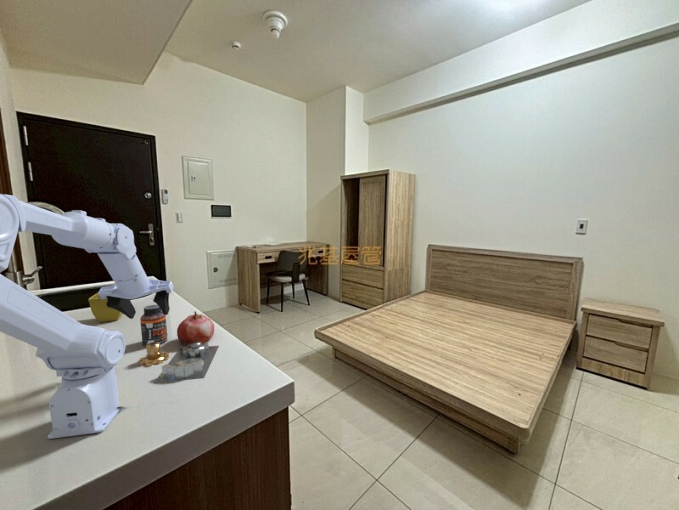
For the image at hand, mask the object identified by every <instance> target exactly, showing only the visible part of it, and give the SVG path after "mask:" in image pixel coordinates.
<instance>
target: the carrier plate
mask: <svg viewBox="0 0 679 510" xmlns="http://www.w3.org/2000/svg"><path fill="white" fill-rule="evenodd" d="M219 347H220V345H211V346H210V345H209V352H206V353H205V355H203V356H196V357H195V358H190V357H187V358H185V357H184V355H183V348H179V349H178V350H177V351H176V353H175V354H174V355H173V357H172V358H171V360H170V361H169V362H168V363H167V364H169V365H171V366H184V365H189V364H192V363H195V362H198V361H200V362H202V370H203V372H202V373H200V374H198V375H195V376H192V377H189V378H184V379H167V378H165V377H163V374H162V372H160V374H159V375H158V377H157V378H156V379H155V381H154V382H153V384H160V383H161V384H163V383H169V382H180V381H188V380H189V381H190V380H199V379H205V378H206V376H207V373H208V371H209V368H210V366H211V365H212V362H213V360H214V358H215V356H216V354H217V351H218V349H219Z"/></svg>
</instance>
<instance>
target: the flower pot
mask: <svg viewBox="0 0 679 510" xmlns="http://www.w3.org/2000/svg"><path fill="white" fill-rule="evenodd" d="M107 301H108V300H107V299H101V298H100V296H99V295H98V292H97V293H95V294H94V295H92V296H90V297H89V298H88V303H89V307H90V310H91V313H92V315H93V316H94V319H96V320H97V321H99V322H100V323H103V322H104V323H105V322H111V321H112V322H113V321H118V320H120V318H121V317H122V316H123V315H124V314H123V313H121V312H120V311H118V310H115V309H113V308H109V307H107V305H106V303H107Z"/></svg>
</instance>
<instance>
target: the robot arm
mask: <svg viewBox="0 0 679 510" xmlns="http://www.w3.org/2000/svg"><path fill="white" fill-rule="evenodd" d="M23 232H30V233H37V234H44V235H49V236H51V237H52V239H53V240H54V241H55V242H56V243H58V244H60V245H62V246H66V247H72V248H73V247H74V248H78V249H83V250H85V252H87V253H89V254H91V253H96V254H97V255H98V257H99V259H100V260H101V262H102V263H103V265H104V267H105V268H106V270H107V272H108V274H109V275H110V277H111V279H112V280H113V282H114V284H113V285H112V284H111V285H107V286H101V288H100V289H99V291H98V292H97V293H98V295H99V296H100V298H101V299H107V300H108V301H107V303H106V305H107V307H109V308H113V309H115V310H118V311H120V312H121V313H123V314H122V315H124V316H126V317H127V318H128V319H130V320H132V319H133V320H134V317H135V315H136V313H137V311H136V309H135V307H134V305H133V303H132V301H131V300H135V299H140V298H141V297H142V298H143V297H145V296H148V295H152V294H154V293H155V295H154V298H153V299H152V302H153V303H155V305H158V306H159V307H160V308H161V311H162V312H163V314H164V315H167V316H168V315H169V312H170V300H169V298H170V294H171V293H172V292H173V290H174V287H175V286H174V284H173V282H172V280H159V279H153V278H148V276H147V274H146V271H145V270H144V268H143V266H142V264H141V262H140V260H139V258H138V256H137V254H136V253H137V247H136V245H135V237H134V232H133V230H132V229H130V227H128V226H126V225H125V224H123V223H109V222H107V221H106V219H105V218H101V217H92V216H88V215H87V212H86V211H83V210H79V209H78V210H77V209H75V210H71V211H67V212H63V213H60V214H59V213H56V212H53V211H50V210H48V209H45V208H42V207H40V206H36V205H33V204H31V203H28V202H25V201H22V200H19V199H18V198H17V196H15V195H11V194H3V193H0V332H1V334H2V333H3V334H5V335H7V336H9V337H12V338H14V339H16V340H19V341H21V342H23V343H26V344H28V345H31V346H32V347H34V348H36V351H35V357H37V358H39V359H41V360H42V361H43V362H44V363H45V366H46V367H47V368H48V369H49V370H52V371H55V372H56V373H55V374H56V377H61V382H60V385H59V387H58V388H57V390H56V391H55V392H54V393H53V394H52V396H50V398H49V403H48V408H49V413H50V421H51V426H52V427H51V428H52V431H51V432H50V433H49V434H48V435H47V439H50V440H52V439H59V438H65V437H73V436H82V435H90V434H96V433H101V432H103V431H105V429H106V428H107V427H108V426H109V424H110V423H111V422H112V421H113V420H114V418H115V417H116V416H117V415H118V413H119V412H120V411H121V409H123V406H119V405H120V394H119V387H118V385H119V384H118V376H117V370H116V369H117V368H116V365H118V363H120V361H121V359H122V358H123V356H124V354H125V351H126V339H125V337H124V335H123V334H122V332H120V331H119V330H108V329H106V328H104V327H99V326H92V325H87V324H83V323H80V322H79V321H77V320H76V319H74V318H73V317H71V316H69V315H68V314H66V313H65V312H63V311H61V310H60V309H58V308H56V307H55V306H53V305H51V304H50V303H48V302H46V301H45V300H43V299H41V297H39V296H37V295H35V294H33V293H32V292H30V291H28V290H27V289H26V288H25V287H24V288H23V287H22V286H20V285H18V283H16V282H14V281H12V280H11V279H9V278H8V277H6V276H5V275H3V274H1V273H2V272H3V271H5V270H6V269H8V267H9V264H10V262H11V261H10V260H11V257H12V254H13V249H14V246H15V243H16V239H17V236H18V233H23Z"/></svg>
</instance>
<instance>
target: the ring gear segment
mask: <svg viewBox="0 0 679 510" xmlns="http://www.w3.org/2000/svg"><path fill="white" fill-rule="evenodd" d="M202 372H203V370H202V362H200V361H198V362H195V363H192V364H189V365H184V366H171V365H169V364H168V363H166V364H164V365H161V373H162V374H163V377H165V378H167V379H184V378H189V377H192V376H195V375H198V374H200V373H202Z"/></svg>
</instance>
